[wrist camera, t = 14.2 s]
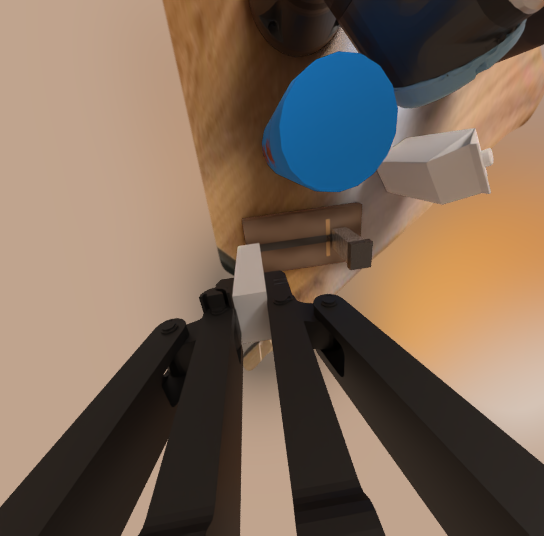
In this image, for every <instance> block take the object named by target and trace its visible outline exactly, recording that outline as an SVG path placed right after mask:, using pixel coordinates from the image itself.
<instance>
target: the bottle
mask: <svg viewBox="0 0 544 536" xmlns="http://www.w3.org/2000/svg"><path fill="white" fill-rule="evenodd" d="M543 44H544V7H542V8H541V9H540V10H538V11H537V12H536V13H534V14H533V15H531V16H530V17H528V18H527V20H526V23H525V28H524V31H523V33H522V34H521V36H520V38H519V39H518V41H517V42H516V44H515V45H514V46H513V47H512V48H511V49H510V50H509V51H508V52H507V53H506V54H505V55H504V56H503V57H502V58H501V59H500V60H499V61H497V62H496V63H498V62H500V61H503V60H505V59H508V58H510V57H513V56H516V55H518V54H521V53H523V52H526V51H528V50H531V49H534V48H536V47H539V46H541V45H543Z"/></svg>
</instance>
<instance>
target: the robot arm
mask: <svg viewBox="0 0 544 536" xmlns="http://www.w3.org/2000/svg"><path fill="white" fill-rule="evenodd" d="M249 4H250V8H251V12H252V15H253V18H254V20H255V23H256V25H257V27H258V29H259V31H260V32H261V34H262V35H263V37H264V38H265V39H266V40H267V41H268V43H269V44H271V45H272V46H273V47H274V48H275V49H277V50H278V51H280V52H282V53H284V54H287V55H291V56H306V55H310V54H312V53H315V52H317V51H318V50H320V49H321V48H323V47H324V46H325V45H326V44H327V43H328V42H329V41H330V40H331V39H332V37H333V36H334V35H335V33H336V32H337V30H338V29H339V27H340V26H341V27H342V29H343V30H344V32H345V33H346V35H347V36H348V38H349V39H350V41H351V42H352V44H353V45H354V47H355V48H356V50H357V51H358V53H361V54H363V55H364V56H366V57H367V58H369V59H370V60H372V61H374V62H375V63H377V64H378V65H380V66H381V68H382V69H383V71H384V73H385V74H386V76H387V77H388V79H389V80H390V82H391V83H392V85H393V89H394V94H395V98H396V103H397V106H400V107H403V108H416V107H420V106H424V105H427V104H429V103H432V102H434V101H437V100H439V99H441V98H443V97H445V96H447V95H449V94H451V93H453V92H454V91H456V90H458V89H460V88H461V87H463V86H465V85H466V84H468V83H469V82H471V81H472V80H473V79H475V77H476V75H477V74H478V73H480V72H482V71H484V70H487V69H489V68H490V67H491V66H493V65H494V64H495V63H496V62H497V61H499V60H500V59H501V58H502V57H503V56H504V55H505V54H506V53H507V52H508V51H509V50H510V49H511V48H512V47H513V46H514V45H515V44H516V42H517V41H518V39H519V38H520V36H521V34H522V33H523V31H524V28H525V23H526V20H527V18H528V17H530V16H531V15H533V14H534V13H536V12H537V11H538V10H540V9H541V8H542V7H544V0H249ZM199 299H200V302H201V305H202V309H203V312H204V314H203V317H202V318H201V319H200V320H198V321H195V322H192V323H190V324H187V325H186V322H185V321H184V320H183V319H179V318H176V319H170V320H167V321H165V322H163V323H161V324H160V325H159V326H158V327H156V328H155V329H154V331H153V332H152V333H151V334H150V335H149V336H148V337H147V339H146V340H145V341H144V342H143V343H142V344H141V345H140V347H139V348H138V349H137V350H136V351H135V352H134V354H133V355H132V356H131V357H130V358H129V359H128V361H127V362H126V363H125V364H124V365H123V366H122V367H121V369H120V370H119V371H118V372H117V373H116V374H115V375H114V377H113V378H112V379H111V380H110V381H109V383H108V384H107V385H106V386H105V387H104V388H103V389H102V391H101V392H100V393H99V394H98V395H97V396H96V398H95V399H94V400H93V401H92V402H91V403H90V404H89V405H88V407H87V408H86V409H85V410H84V411H83V412H82V413H81V415H80V416H79V417H78V418H77V419H76V420H75V422H74V423H73V424H72V425H71V426H70V428H69V429H68V430H67V431H66V432H65V433H64V434H63V435H62V437H61V438H60V439H59V440H58V441H57V442H56V443H55V445H54V446H53V447H52V448H51V449H50V451H49V452H48V453H47V454H46V455H45V456H44V457H43V458H42V460H41V461H40V462H39V463H38V464H37V465H36V467H35V468H34V469H33V470H32V471H31V472H30V473H29V475H28V476H27V477H26V478H25V479H24V480H23V482H22V483H21V484H20V485H19V486H18V487H17V488H16V490H15V491H14V492H13V493H12V494H11V495H10V497H9V498H8V499H7V500H6V501H5V502H4V503H3V505H2V506H1V507H0V536H121V534H122V532H123V530H124V528H125V526H126V524H127V522H128V520H129V518H130V516H131V513H132V512H133V509H134V507H135V505H136V503H137V501H138V499H139V497H140V495H141V493H142V491H143V489H144V487H145V485H146V483H147V481H148V479H149V477H150V475H151V473H152V470H153V468H154V466H155V464H156V462H157V460H158V458H159V456H160V454H161V452H162V450H163V448H164V446H165V444H166V442H167V440H168V442H167V446H166V449H165V453H164V456H163V460H162V463H161V467H160V471H159V474H158V477H157V481H156V485H155V489H154V492H153V496H152V499H151V503H150V506H149V509H148V513H147V517H146V520H145V523H144V525H143V528H142V530H141V532H140V534H139V535H138V536H240V503H241V502H240V501H241V445H242V444H241V442H242V389H243V388H242V387H243V386H242V385H243V349H242V345H241V337H242V342H243V344H245V343H251V342H257V341H264V340H270V339H272V346H273V352H274V361H275V368H276V375H277V383H278V390H279V398H280V405H281V413H282V421H283V429H284V436H285V443H286V451H287V458H288V466H289V473H290V481H291V489H292V496H293V504H294V515H295V523H296V531H297V536H385V533H384V531H383V528H382V525H381V523H380V521H379V518H378V515H377V513H376V511H375V508H374V506H373V504H372V502H371V501H370V499H369V498H368V497H367V496H366V494H365V493H364V492H363V490H362V488H361V486H360V483H359V480H358V478H357V475H356V472H355V469H354V466H353V463H352V460H351V457H350V455H349V452H348V449H347V446H346V443H345V440H344V437H343V434H342V431H341V429H340V426H339V423H338V420H337V417H336V414H335V411H334V408H333V405H332V402H331V400H330V397H329V394H328V391H327V388H326V385H325V382H324V379H323V376H322V374H321V371H320V368H319V365H318V362H317V359H316V356H315V353H314V350H313V349H316V351H317V353H318V355H319V356H320V358H321V359H322V360H323V362H324V363H325V365H326V366H327V367H328V369H329V370H330V372H331V373H332V374H333V376H334V377H335V379H336V380H337V381H338V383H339V384H340V386H341V387H342V388H343V390H344V391H345V392H346V394H347V395H348V397H349V398H350V400H351V401H352V402H353V404H354V405H355V406H356V408H357V409H358V411H359V412H360V413H361V415H362V416H363V418H364V419H365V420H366V422H367V423H368V425H369V426H370V427H371V429H372V430H373V432H374V433H375V434H376V436H377V437H378V439H379V440H380V441H381V443H382V444H383V446H384V447H385V448H386V450H387V451H388V452H389V454H390V455H391V457H392V458H393V459H394V461H395V462H396V464H397V465H398V466H399V468H400V469H401V470H402V472H403V474H404V475H405V476H406V478H407V479H408V480H409V482H410V483H411V485H412V486H413V487H414V489H415V490H416V491H417V493H418V494H419V496H420V497H421V499H422V500H423V501H424V503H425V504H426V506H427V507H428V508H429V510H430V511H431V513H432V514H433V515H434V517H435V518H436V520H437V521H438V522H439V524H440V525H441V527H442V528H443V529H444V531H445V532H446V534H447V535H448V536H544V464H542V463H541V462H540V461H539V460H538V459H537V458H535V457H534V456H533V455H532V454H530V453H529V452H528V451H527V450H526V449H524V448H523V447H522V446H521V445H520V444H518V443H517V442H516V441H515V440H513V439H512V438H511V437H510V436H509V435H507V434H506V433H505V432H504V431H503V430H501V429H500V428H499V427H498V426H497V425H495V424H494V423H493V422H492V421H491V420H489V419H488V418H487V417H486V416H484V415H483V414H482V413H481V412H480V411H478V410H477V409H476V408H475V407H474V406H472V405H471V404H470V403H469V402H467V401H466V400H465V399H464V398H463V397H461V396H460V395H459V394H458V393H457V392H455V391H454V390H453V389H452V388H451V387H449V386H448V385H447V384H446V383H444V382H443V381H442V380H441V379H440V378H438V377H437V376H436V375H435V374H433V373H432V372H431V371H430V370H429V369H427V368H426V367H425V366H424V365H422V364H421V363H420V362H419V361H418V360H417V359H415V358H414V357H413V356H412V355H411V354H409V353H408V352H407V351H406V350H404V349H403V348H402V347H401V346H400V345H398V344H397V343H396V342H395V341H394V340H392V339H391V338H390V337H389V336H387V335H386V334H385V333H384V332H383V331H381V330H380V329H379V328H378V327H377V326H375V325H374V324H373V323H372V322H371V321H369V320H368V319H367V318H366V317H364V316H363V315H362V314H361V313H360V312H358V311H357V310H356V309H355V308H354V307H352V306H351V305H350V304H349V303H347V302H346V301H345V300H344V299H343V298H341V297H339V296H337V295H333V294H325V295H320V296H318V297H316V298H315V299H314V303H303V302H299V301H297V300H296V298H295V297H294V296H293V295H292V293H291V290H290V287H289V284H288V281H287V278H286V275H285V273H284V272H282V271H281V270H278V271H271V272H265V273H264V271H263V265H262V258H261V252H260V245H259V243H256V244H249V245H242V246H238V249H237V258H236V267H235V276H234V278H229V279H222V280H220V281H219V282H218V283H217V284H216V288H212V289H209V290H207V291H205V292H204V293H202V294H201V295H200V297H199ZM166 369H168V370H167V372H166V373H165V371H166ZM164 373H165V374H164Z"/></svg>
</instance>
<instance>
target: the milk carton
mask: <svg viewBox="0 0 544 536" xmlns="http://www.w3.org/2000/svg"><path fill="white" fill-rule="evenodd" d="M492 164H493V153H492V150H491V148H488V149H485V150H482V151H481V148H480V144H479V140H478V136H477V133H476V129H475V128H473V129H465V130H458V131H451V132H444V133H437V134H430V135H423V136H416V137H409V138H405V139H404V140H402V141H401V142H400V143H398V144H397V145H396V146H394V147H393V148H392V149H390V150H389V152H388V155H387V156H386V158H385V159H384V160H383V162H382V163H381V165H380V166H379V167H378V169H377V172H378V174H379V176H380V178H381V180H382V182H383V184H384V186H385V188H386V190H387V192H389V193H393V194H398V195H402V196H407V197H411V198H415V199H420V200H424V201H429V202H433V203H437V204H442V205H443V204H446V203H450V202H453V201H457V200H460V199H463V198H467V197H470V196H473V195H477V194H480V193H488V194H490V193H491V190H490V187H489V183H488V179H487V171H486V166H490V165H492Z"/></svg>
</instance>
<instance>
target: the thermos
mask: <svg viewBox="0 0 544 536" xmlns="http://www.w3.org/2000/svg"><path fill="white" fill-rule="evenodd" d="M397 113H398V107H397V103H396V98H395V94H394V89H393V85H392V83H391V82H390V80H389V79H388V77H387V76H386V74H385V73H384V71H383V69H382V68H381V66H380V65H378V64H377V63H375V62H374V61H372V60H370V59H369V58H367V57H366V56H364V55H363V54H361V53H351V52H341V51H338V52H335V53H333V54H330V55H327V56H325V57H322V58H319V59H316V60H315V61H314V62H312V63H311V64H310V65H309V66H308V67H307V68H305V69H304V70H303V71H302V72H301V73H300V74H299V75H298V76H297V77H296V78H295V79H293V80H292V81H291V83H290V85H289V86H288V88H287V90H286V92H285V94H284V95H283V97H282V99H281V101H280V102H279V104H278V106H277V108H276V109H275V111H274V113H273V115H272V117H271V118H270V120H269V122H268V124H267V126H266V128H265V129H264V134H263V140H262V148H263V155H264V157H265V159H266V162H267V164H268V165H269V167H270V168H271V169H272V170H273V171H274V172H275V173H276V174H278V175H281V176H283V177H285V178H287V179H289V180H291V181H294V182H296V183H298V184H300V185H302V186H305V187H307V188H309V189H311V190H314V191H319V192H341V191H344V190H347V189H350V188H353V187H355V186H358V185H359V184H361V183H362V182H363V181H365V180H366V179H367V178H369V177H370V176H371V175H372V174H374V173H375V171H376V170H377V169H378V167H379V166H380V165H381V163H382V162H383V160H384V159H385V158H386V156H387V155H388V152H389V150H390V147H391V144H392V142H393V139H394V136H395V134H396V124H397Z"/></svg>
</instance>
